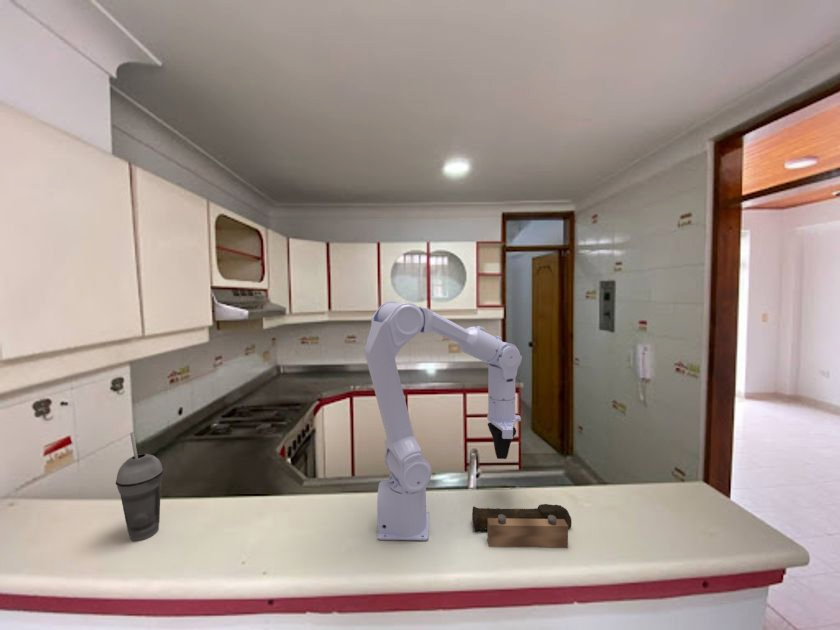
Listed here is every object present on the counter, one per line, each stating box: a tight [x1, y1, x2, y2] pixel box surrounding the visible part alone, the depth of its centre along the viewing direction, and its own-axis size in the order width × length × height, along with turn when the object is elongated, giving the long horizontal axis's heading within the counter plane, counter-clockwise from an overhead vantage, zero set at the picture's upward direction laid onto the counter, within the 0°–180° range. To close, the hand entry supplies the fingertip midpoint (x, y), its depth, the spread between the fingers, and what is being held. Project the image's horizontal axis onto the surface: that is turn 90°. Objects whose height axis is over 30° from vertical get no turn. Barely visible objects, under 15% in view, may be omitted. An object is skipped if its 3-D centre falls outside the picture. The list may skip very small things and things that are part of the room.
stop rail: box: [486, 514, 569, 549], centre depth 65 cm, size 14×2×5 cm, turn 88°
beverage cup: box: [115, 432, 164, 542], centre depth 69 cm, size 7×7×20 cm
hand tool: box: [471, 503, 572, 532], centre depth 69 cm, size 19×4×5 cm, turn 85°
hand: (501, 457), depth 79 cm, fingers closed
